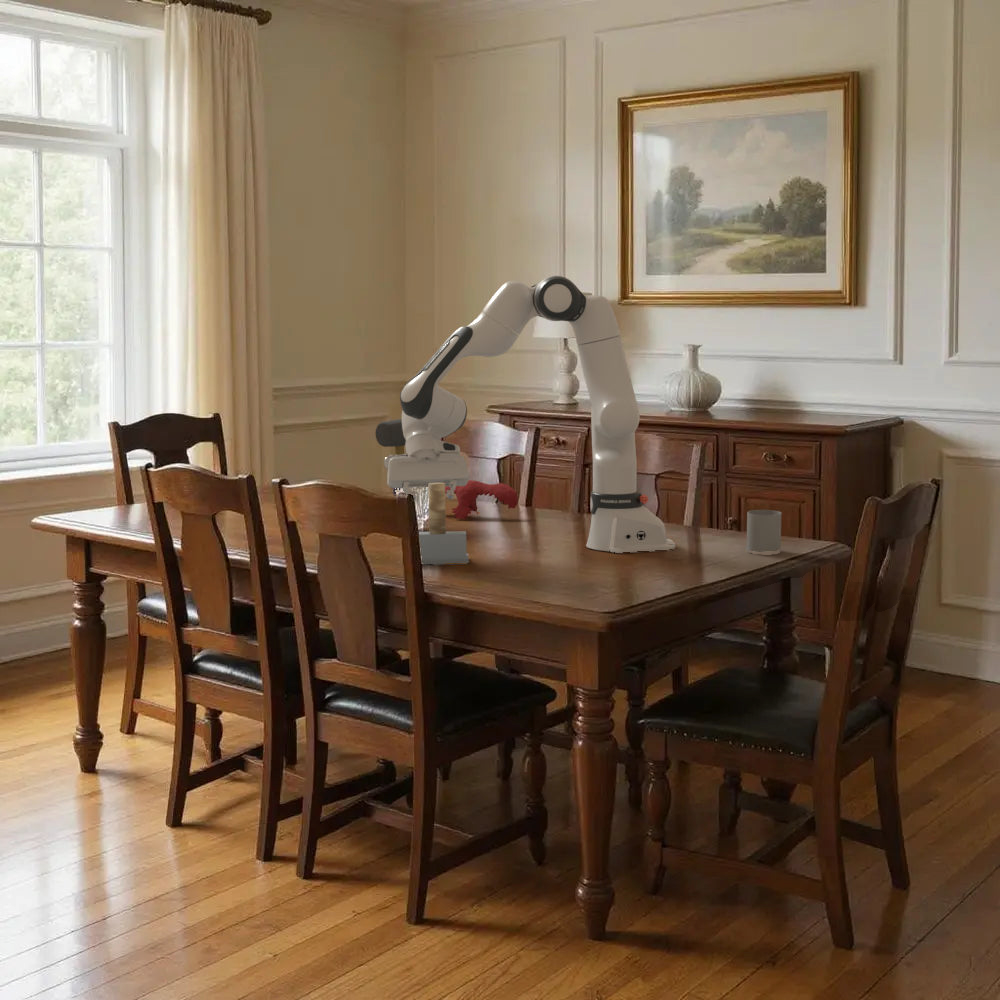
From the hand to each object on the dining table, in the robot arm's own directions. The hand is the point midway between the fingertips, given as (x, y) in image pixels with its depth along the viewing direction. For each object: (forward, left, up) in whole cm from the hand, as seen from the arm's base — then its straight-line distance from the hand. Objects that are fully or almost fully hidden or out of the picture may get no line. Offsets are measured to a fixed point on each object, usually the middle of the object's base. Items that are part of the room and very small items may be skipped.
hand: (431, 498), depth 340 cm
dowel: (-1, +6, -8) cm, 10 cm away
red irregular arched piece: (-11, -60, -15) cm, 63 cm away
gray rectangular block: (-1, +6, -15) cm, 16 cm away
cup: (-82, 0, -15) cm, 83 cm away
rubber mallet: (+9, -45, -15) cm, 48 cm away
